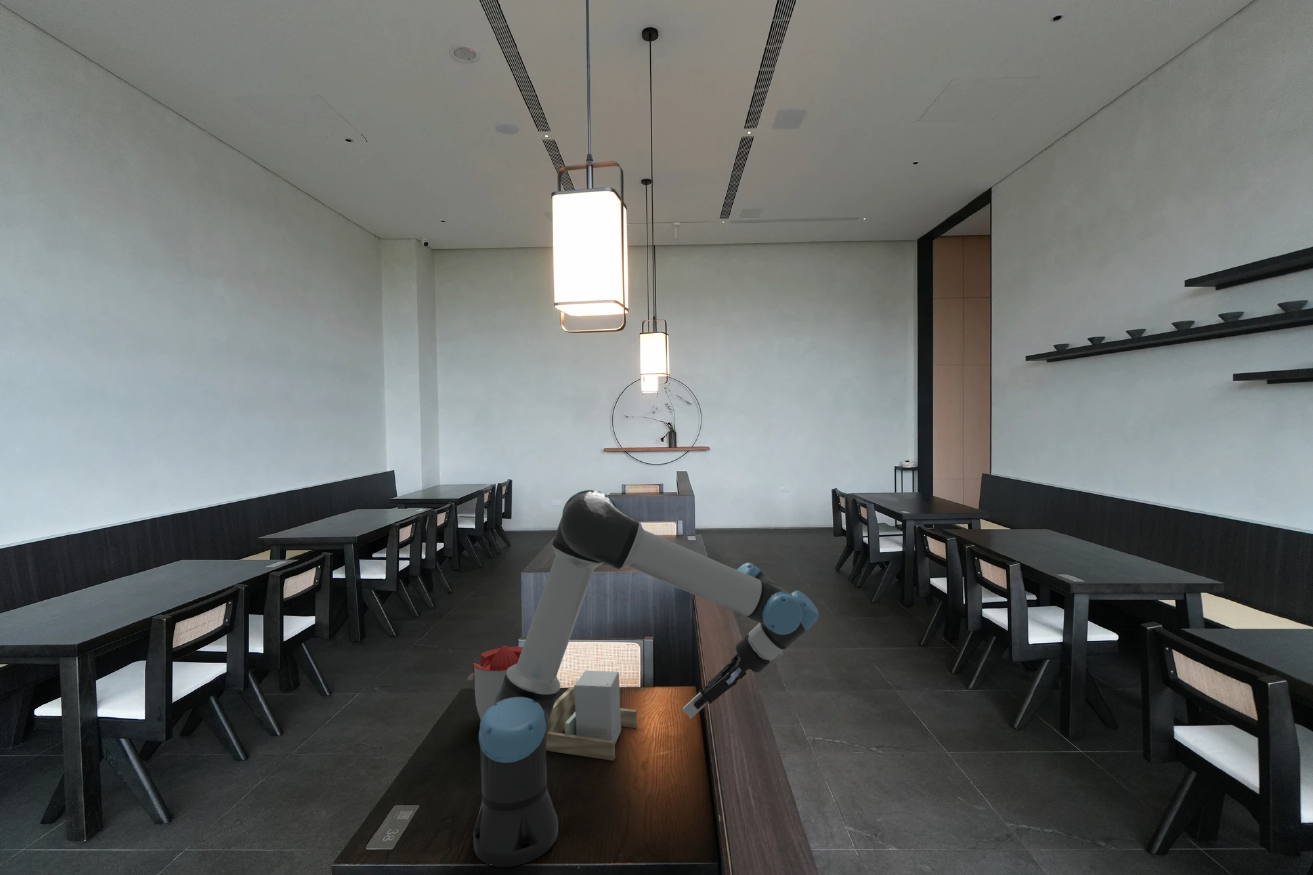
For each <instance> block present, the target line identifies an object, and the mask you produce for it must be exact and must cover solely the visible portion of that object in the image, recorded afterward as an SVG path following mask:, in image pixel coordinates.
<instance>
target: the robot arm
mask: <svg viewBox="0 0 1313 875" xmlns="http://www.w3.org/2000/svg"><path fill="white" fill-rule="evenodd" d="M557 526H558V527H557V530H556V532H555V534H554V538H553V541H552V544H551V548H552V550H553V552H554V554H555V557H554V559H553V562H552V564H551V568H550V571H549V573H548V576H547V579H546V582H545V584H544V587H543V590H542V593H541V595H540V598H539V602H538V604H537V607H536V610H535V613H534V616H533V618H532V621H531V624H530V627H529V629H528V632H527V635H526V638H525V640H524V644H523V649H522V651H521V654H520V657H519V660H518V663H517V664H515V665H513V666H511V667H509V668H508V669H507V672H506V674H505V677H504V680H503V683H502V685H501V688H500V690H499V691H498V693H497V696H496V699H495V703H494V706H491V707H490V708H489V709H488V710H487V711H486V712H485V713H484V715H483V717H482V719H481V720H480V723H479V731H478V742H479V748H480V751H479V752H480V773H481V774H480V777H481V800H482V801H481V804H480V808H479V812H478V816H477V819H476V821H475V826H474V828H473V836H472V838H473V841H472V842H473V851H474V854H475V856H476V858H478V860H480V861H481V862H483V863H484V862H485V863H484V864H486V863H488V864H492V865H493V866H492V865H491V866H492V867H498V868H511V867H512V868H513V867H518V866H521V865H520V864H522V865H525V864H527V863H531V862H533V861H535V860H536V859H539V858H540V857H542V856H543V855H544V854H546V853H547V852H548V851H549V850H550V849H551V848H552V847H553V846H554V844H555V842H556V841H557V839H558V838H557V837H558V835H559V834H558V833H559V822H558V815H557V812H556V810H555V808H554V804H553V801H552V799H551V797H550V796H551V795H550V792H549V791H548V783H547V782H548V780H547V779H548V776H547V775H548V774H547V751H546V741H547V732H548V724H549V719H550V715H551V712H552V709H553V707H554V704H555V701H556V700H557V699H558V695H559V692H560V689H561V682H560V680H559V678H558V673H559V670H560V667H561V665H562V662H563V660H564V656H565V654H566V650H567V648H568V645H569V642H570V639H571V636H572V633H573V630H574V628H575V624H576V623H577V620H578V616H579V613H580V612H581V608H582V605H583V603H584V599H585V597H586V594H587V591H588V589H589V586H590V582H591V580H592V577H593V575H594V571H595V570H596V568H598V567H600V566H602V565H607V566H609V567H611V568H615V569H617V570H620V571H621V570H624V569H626V568H629V569H632V570H634V571H636V572H639V573H641V574H644V575H646V576H648V577H651V578H654V579H656V580H658V581H661V582H663V583H665V584H667V585H670V586H673V587H674V588H676V589H677V588H678V589H679V590H682V591H684V592H687V593H689V594H691V595H694V596H696V597H698V598H701V599H704V600H706V601H709V602H710V603H714V604H716V605H718V606H721V607H723V608H725V609H727V610H730V611H732V612H735V613H737V614H739V615H742V616H745V617H746V618H748V619H750V620H753V621H756V622H757V623H758V624H756V626H754V627H753V628H752V629H751V630H750V631H749V632H748V634H747V635H745V636H743V638H742V639H741V640H740V641H738V643H736V645H735V650H736V651H735V652H736V654H734V656H733V657H732V658H731V660H730V661H729V662H728V663H726V665H725V666H724V667H723V668H721V670H720V671H719V672H718V673H717V674H716V675H714V677H712V679H710V680H709V681H708V682H707V685H705V686H704V688H700V690H699V692H698V693H697V694H696V695H695V696H694V697H693V698H692V699H691V700H690V701H689V702H688V703H687V704H686V705H684V706H683V707H682V711H683V713H684V714H686V716H687V717H688V718H689V720H691V719H692V718H694V717H695V715H697V714H698V713H700V711H702V709H704V707H706V706H707V705H706V703H707V702H708V704H709V705H711V704H712V703H713V702H715V701H716V700H717V699H718V698H720V697H721V696H722V695H724V694H725V693H726V692H727V691H728V690H729V689H732V688H733V687H734V686H736V685H737V683H738V681H739V680H740V679H743V678H744V676H746V675H747V671H748V670H750V671H751V672H754V673H760V672H761V671H763V670H764V669H765V668H766V667H767V666H768V665H769V664H770V661H773V660H774V659H775V658H777V657H778V655H779V656H783V655H784V651H785V650H786V649H787V648H788V647H789V646H791V645H792V644H793V643H795V641H796V640H797V639H798V638H800V637H801V636H802V635H803V634H804V633H805V632H808V630H809V629H810V628H811V627H812V626H813V625H814V624H815V623H816V622H817V620H818V619H819V616H820V614H819V613H820V612H819V610H818V608H817V606H816V605H815V604H814V602H813V601H812V600H811V599H810V598H809V597H808V596H807V595H806V594H805V593H803V592H802V591H800V590H794V591H793V592H791V593H789V592H788V591H786V590H785V589H784V588H783V587H781V586H779V584H777V582H775V581H774V580H772V579H771V578H770V577H769V576H768V575H767V574H765V573H764V572H763V571H762V570H761V569H760V568H758V566H756V565H754V564H753V563H752V562H745V563H743V564H742V565H740V566H739V567H738V568H733V567H730V566H728V565H726V564H724V563H721V562H720V561H718V560H715V559H712V558H709V557H708V556H706V555H703V554H702V553H701V554H700V553H699V552H696V551H693V550H691V549H689V548H687V547H685V546H682V545H680V544H678V543H676V542H673V541H671V540H669V539H666V538H663V537H661V536H660V535H658V534H654V533H652V532H649V531H647V530H645V529H644V528H643V524H642V523H641V522H640V521H639V520H636V519H634V518H631V517H630V516H628V515H626V514H624V513H623V512H621V510H619V509H618V507H617V505H616V503H615V501H614V500H613V499H612V498H611V497H610V496H608V494H606V493H603V492H602V491H599V490H598V491H597V490H595V489H587V490H585V489H584V490H582V491H581V490H580V491H578V492H576V493H574V494H573V495H572V496H570V498H569V499H568V500H567V501H566V502H565V504H564V507H563V509H562V514H561V518H560V521H559V524H558V525H557ZM488 864H487V865H488ZM517 865H518V866H517Z"/></svg>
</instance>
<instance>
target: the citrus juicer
mask: <svg viewBox="0 0 1313 875" xmlns="http://www.w3.org/2000/svg"><path fill="white" fill-rule="evenodd" d="M522 649H523V647H522V646H507V645H502V647H498V648H494V649H490V650H487V651H485V652H483V653H481V654H480V664H479V663H474V662H473V663H472V673H471V674H470V675H469V676H467V681H472V680H473V684H474V698H475V705H476V709H477V713H478V717H479V721H481V719H482V717H483V715H484V713H485V712H486V711H487V710H488V709H489V708H490V707H491V706H494V703H495V699H496V696H497V693H498V691H499V690H500V688H501V685H502V683H503V680H504V677H505V674H506V672H507V669H508V668H509V667H511V666H513V665H515V664H517V663H518V660H519V657H520V654H521V651H522Z"/></svg>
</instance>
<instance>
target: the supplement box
mask: <svg viewBox="0 0 1313 875" xmlns="http://www.w3.org/2000/svg"><path fill="white" fill-rule="evenodd" d="M573 687H574V690H575V710H576V733H577V736H584V737H591V738H598V739H605V740H613V741H615V744H617V740H618V739H619V736H620V735H621V732H622V726H621V716H620V708H621V701H620V700H621V699H620V698H621V694H620V673H619V671H606V670H605V671H603V670H585V671H583V672H582V675H581V676H580V677H579V678H578V680H577V681H576V683H575V684H574V686H573Z"/></svg>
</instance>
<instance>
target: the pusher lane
mask: <svg viewBox="0 0 1313 875" xmlns="http://www.w3.org/2000/svg"><path fill="white" fill-rule="evenodd" d="M637 711H638V710H637V709H631V708H630V709H629V708H625V707H624V708H622V707H620V716H621V727H625V728H635V729H637V727H638V712H637ZM575 712H576V710H575V690H574V686H569V687H568V689H567V690H565V691H564V692H563V693H562V694H561V695H560V696H559V697H557V698H556V701H555V704H554V707H553V709H552V712H551V715H550V719H549V724H548V732H547V741H546V752H553V753H554V752H555V753H561V754H567V755H572V756H579V757H581V756H582V757H588V758H593V759H600V760H607V761H615V759H616V746H615V745H616V743H615V741H613V740H605V739H598V738H591V737H584V736H577V735H570V734H565V733H563V732H565V722H566V721H567V720H568V719H569V718H570V717H571V716H572V715H573V714H574V713H575Z"/></svg>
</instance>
